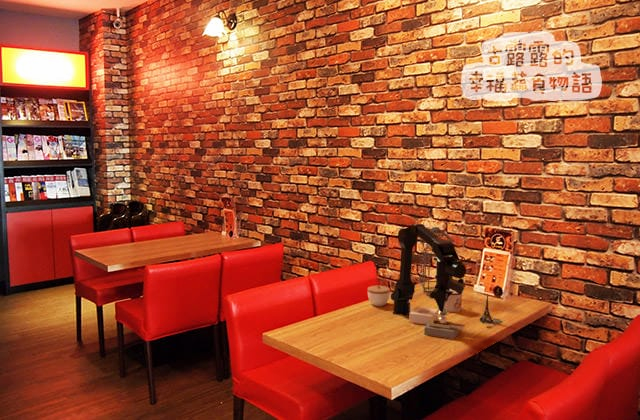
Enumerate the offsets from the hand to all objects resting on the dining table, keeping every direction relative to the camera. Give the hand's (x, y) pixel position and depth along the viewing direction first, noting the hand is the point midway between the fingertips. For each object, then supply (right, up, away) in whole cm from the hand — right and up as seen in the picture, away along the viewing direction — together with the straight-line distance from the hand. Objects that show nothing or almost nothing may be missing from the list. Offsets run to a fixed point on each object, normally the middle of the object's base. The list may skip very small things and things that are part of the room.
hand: (442, 310), depth 220 cm
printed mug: (+12, -6, +33) cm, 36 cm away
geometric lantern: (+9, -3, +57) cm, 58 cm away
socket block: (0, -9, +1) cm, 10 cm away
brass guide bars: (+2, -6, 0) cm, 7 cm away
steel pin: (0, -6, +1) cm, 6 cm away
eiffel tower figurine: (+23, -8, +15) cm, 28 cm away
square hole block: (-5, -7, +17) cm, 19 cm away
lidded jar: (-22, -5, +41) cm, 46 cm away
